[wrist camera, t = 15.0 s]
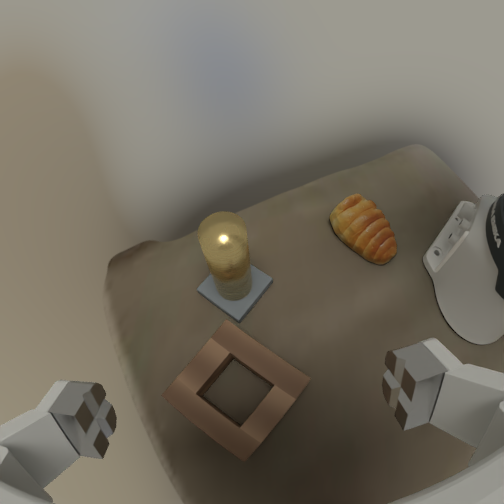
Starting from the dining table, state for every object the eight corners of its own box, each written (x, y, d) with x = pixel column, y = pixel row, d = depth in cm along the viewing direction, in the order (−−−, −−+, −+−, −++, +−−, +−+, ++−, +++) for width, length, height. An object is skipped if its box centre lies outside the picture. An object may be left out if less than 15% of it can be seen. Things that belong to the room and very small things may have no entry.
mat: (231, 255, 36) (230, 251, 35) (272, 282, 34) (272, 278, 33) (198, 292, 34) (196, 289, 33) (239, 323, 32) (238, 320, 31)
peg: (231, 261, 35) (219, 204, 26) (259, 280, 33) (256, 226, 25) (208, 286, 33) (187, 235, 25) (236, 307, 32) (223, 260, 23)
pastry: (404, 250, 35) (415, 234, 32) (368, 278, 34) (378, 262, 31) (358, 201, 40) (364, 183, 36) (321, 223, 38) (325, 204, 35)
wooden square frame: (230, 327, 32) (226, 319, 29) (307, 381, 28) (311, 378, 26) (170, 397, 28) (161, 395, 25) (247, 457, 24) (244, 462, 22)
